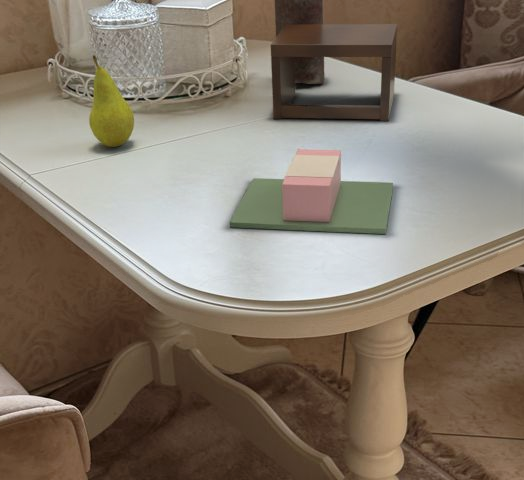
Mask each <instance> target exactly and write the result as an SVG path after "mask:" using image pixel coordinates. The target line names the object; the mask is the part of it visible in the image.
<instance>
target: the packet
mask: <svg viewBox="0 0 524 480" xmlns="http://www.w3.org/2000/svg"><path fill="white" fill-rule="evenodd" d="M283 179H284V181H283V184H282V196H283V220H284V221H309V222H330V219H331V216H332V212H333V209H334V205H335V202H336V199H337V195H338V192H339V188H340V185H341V181H342V150H340V149H337V150H336V149H308V148H307V149H306V148H305V149H304V148H303V149H302V148H301V149H300V148H298V149H297V150H296V152H295V154H293V157H292V159H291V162H290V164H289V166H288V168H287V171H286V172H285V175H284V178H283Z"/></svg>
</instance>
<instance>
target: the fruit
mask: <svg viewBox="0 0 524 480" xmlns="http://www.w3.org/2000/svg"><path fill="white" fill-rule="evenodd" d="M92 59H93V62H94V65H95V67H96V69H95V73H94V79H93V99H92V101H93V104H92V106H91V109H90V113H89V116H88V117H89V119H88V122H89V127H90V130H91V132H92V134H93V136H94V137H95V138H96V139H97V140H98V142H99V143H100V144H102V145H104V146H105V147H107V148H108V147H109V148H110V147H111V148H115V147H120V146H123V145H124V144H125V143H126V142H128V140H129V139H130V137H131V136H132V134H133V131H134V127H135V115H134V113H133V110H132V108H131V106H130V105H129V103H128V102H127V100H125V98H124V96H123V95H122V94H121V92H120V89H119V88H118V86H117V84H116V82H115V81H114V79H113V78H112V76H111V74H110V73H109V72H108V71H107V70H106V69H105V68H104V67H102V66H100V65H99V64H98V58H97V55H92Z"/></svg>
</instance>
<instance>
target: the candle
mask: <svg viewBox="0 0 524 480" xmlns="http://www.w3.org/2000/svg"><path fill="white" fill-rule="evenodd" d="M323 5H324V4H323V0H274V19H275V21H274V22H275V38H276V37H277V36H278V34H279V33H280V32H281V31H282V29H283V28H284V27H285V25H291V24H324V15H323V10H324V7H323ZM324 82H325V57H295V84H306V85H322V84H324Z"/></svg>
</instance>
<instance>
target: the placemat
mask: <svg viewBox="0 0 524 480" xmlns="http://www.w3.org/2000/svg"><path fill="white" fill-rule="evenodd" d="M284 179H285V178H261V177H253V179H252V180H251V182H250V184H249V186H248V188H247V189H246V191H245V193H244V195H243V197H242V199H241V201H240V203H239V205H238V206H237V208H236V210H235V212H234V214H233V216H232V218H231V219H230V221H229V227H230V228H235V229H237V228H240V229H262V230H281V231H282V230H285V231H303V232H305V231H309V232H328V233H329V232H331V233H350V234H351V233H352V234H353V233H355V234H373V235H374V234H377V235H385V234H386V233H387V226H388V220H389V216H390V215H389V214H390V209H391V201H392V196H393V189H394V182H389V181H388V182H384V181H383V182H382V181H353V180H351V181H350V180H341V185H340V188H339V192H338V195H337V199H336V202H335V205H334V209H333V212H332V216H331V219H330V222H309V221H284V220H283V196H282V184H283V181H284Z"/></svg>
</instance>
